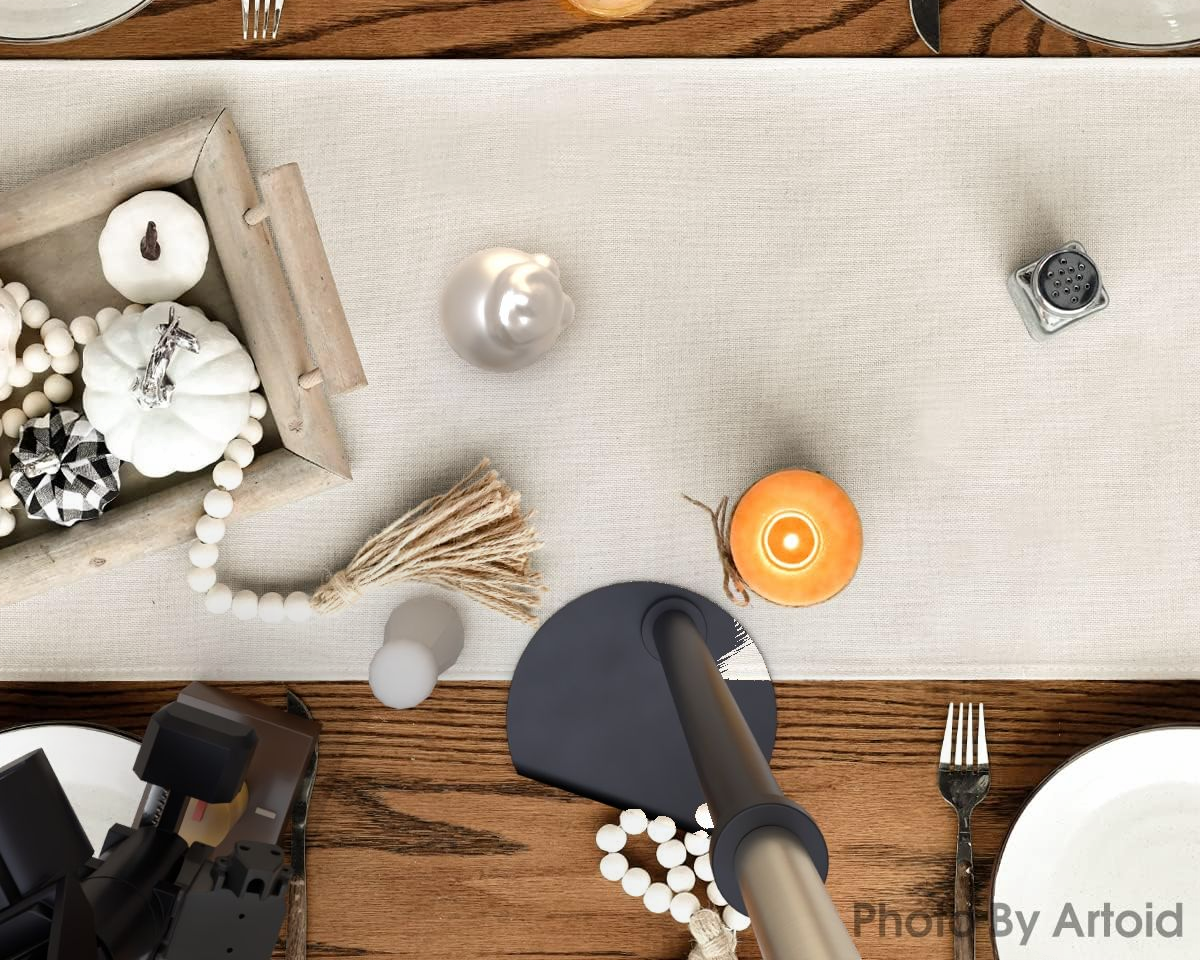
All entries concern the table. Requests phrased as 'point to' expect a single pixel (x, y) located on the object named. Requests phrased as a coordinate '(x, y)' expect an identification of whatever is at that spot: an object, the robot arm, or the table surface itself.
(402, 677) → the salt shaker
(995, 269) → the table surface
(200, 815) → the knob
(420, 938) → the table surface
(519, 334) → the ghost figurine
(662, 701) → the round base pole stand
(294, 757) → the panel
